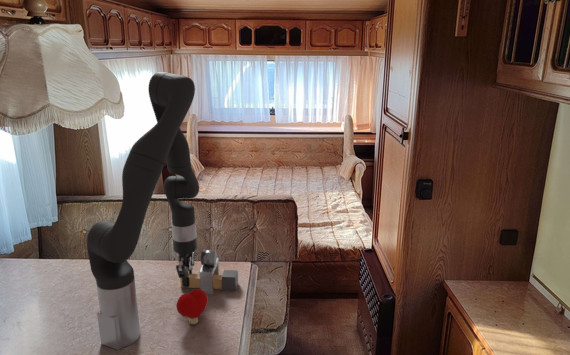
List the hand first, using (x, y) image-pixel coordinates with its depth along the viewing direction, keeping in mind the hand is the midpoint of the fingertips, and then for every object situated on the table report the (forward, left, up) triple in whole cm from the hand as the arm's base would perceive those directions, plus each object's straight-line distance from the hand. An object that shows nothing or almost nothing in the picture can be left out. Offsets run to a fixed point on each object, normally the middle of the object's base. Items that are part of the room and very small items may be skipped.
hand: (187, 283), depth 141 cm
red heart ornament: (-17, -14, -1) cm, 22 cm away
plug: (+3, -7, -1) cm, 7 cm away
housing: (+2, -7, -1) cm, 8 cm away
